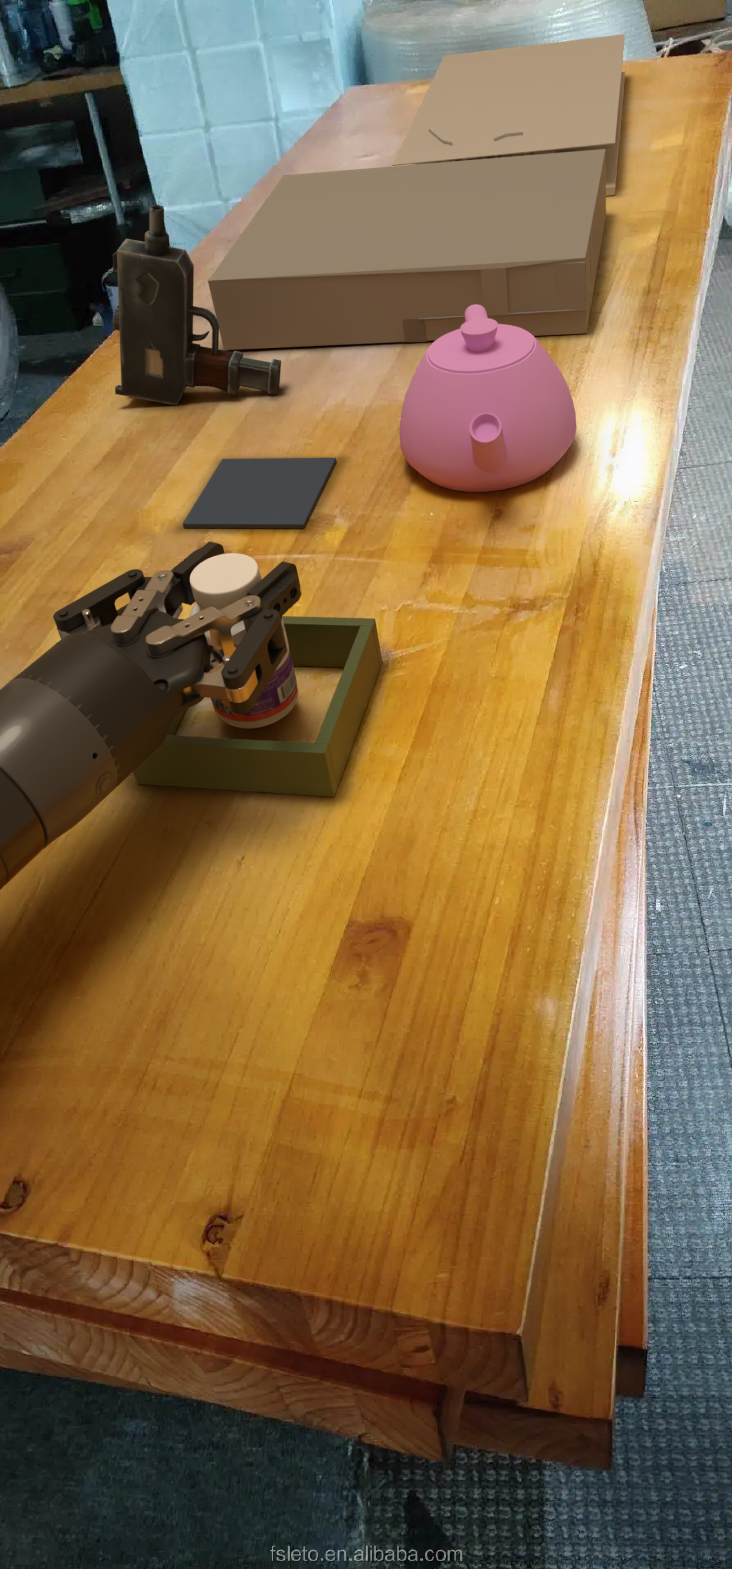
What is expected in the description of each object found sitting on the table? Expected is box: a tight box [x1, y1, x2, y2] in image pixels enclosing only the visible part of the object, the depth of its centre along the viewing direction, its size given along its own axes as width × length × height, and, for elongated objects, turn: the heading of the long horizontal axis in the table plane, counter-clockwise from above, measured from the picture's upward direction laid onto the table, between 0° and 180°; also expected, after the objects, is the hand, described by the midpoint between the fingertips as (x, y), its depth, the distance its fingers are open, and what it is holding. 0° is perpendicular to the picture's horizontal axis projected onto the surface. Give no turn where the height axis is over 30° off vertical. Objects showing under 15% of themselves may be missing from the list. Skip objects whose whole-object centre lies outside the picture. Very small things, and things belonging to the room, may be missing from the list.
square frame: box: [132, 615, 383, 798], centre depth 74 cm, size 13×13×4 cm
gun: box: [112, 204, 282, 406], centre depth 105 cm, size 3×17×15 cm
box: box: [207, 149, 607, 351], centre depth 120 cm, size 35×29×7 cm
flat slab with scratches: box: [391, 33, 626, 197], centre depth 149 cm, size 45×24×6 cm, turn 170°
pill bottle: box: [189, 552, 299, 729], centre depth 71 cm, size 5×5×10 cm
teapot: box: [398, 304, 577, 493], centre depth 91 cm, size 14×20×11 cm
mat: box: [182, 457, 337, 529], centre depth 96 cm, size 10×10×1 cm
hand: (255, 565), depth 70 cm, fingers closed on pill bottle, 5 cm apart
